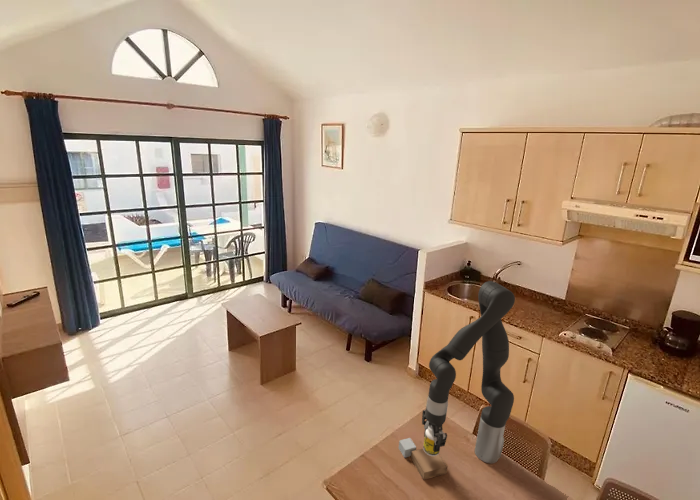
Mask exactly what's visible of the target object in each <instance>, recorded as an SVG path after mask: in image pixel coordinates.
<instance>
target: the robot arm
mask: <svg viewBox="0 0 700 500" xmlns="http://www.w3.org/2000/svg"><path fill="white" fill-rule="evenodd" d="M477 295H478V296H477V297H478V305H479V312H480V317H479V318H477V319H476V320H474V321H472V322H471V323H469V324H467V325H465V326H463V327H461V328H460V329H459V330H458V331H457V332H456V333H455V334H454V336H453V337H452V338H451V339H450V340H449V342H448V343H447V344H446V345H445V346H444V347H442V348H441V349H440V350H438V351H437V352H435V354H433V355H432V356H431V358H430V359H429V363H428V367H429V370H430V371H431V373H432V374H433V375H434V377H435V378H436V379H433V380H431V382H430V383H429V388H428V389H429V390H428V394H427V395H428V396H427V399H426V406H425V409H424V410H422V415H421V416H422V417H421V425H423V429H424V432H423V437H424V438H425V431H426V429H427V428H428V425H430V427H431V430H432V437H433V438H434V448H433V451H434V452H438V451H439V452H440V450H441V448H442V447H445V446H446V443H447V438H448V434H447V432H444V431H443V430H444V429H443V425H444V423H445V422H446V419H447V413H448V407H449V397H450V396H449V395H450V390H451V389H452V387H453V384H454V383H455V381H456V378H457V371H456V369H455V367H454V365H453V364H452V363H451V362H450V361H452V360H453V359H455V360H457V361H463V359H465V358H466V356H467V355H468V354H469V353H470V352H471V350H472V349H473V347H474V346H475V345H476V344H477V343H478V342H479V340H480V339H481V349H482V350H481V351H482V376H481V379H482V380H481V386H480V387H481V389H480V390H481V394H482V396H483V398H484V399H485V400H486V402H488V403H489V405H488V406H485V407H483V408H482V409H481V414H480V419H479V424H478V431H477V435H476V441H475V447H474V453H475V456H476V457H477V458H478V459H479V460H480V461H482V462H484V463H486V464H495V463H497V462H498V460H500V458H501V457H502V452H503V449H504V443H505V437H504V433H505V429H506V424H507V421H508V420H509V419H510V417H511V412H512V410H513V405H514V401H515V395H514V393H513V391H512V390H511V389H510V388H509V387H508V386H507V385H505V383H503V381H502V378H501V368H503V366H504V365H505V364H506V363H507V361H508V360H509V358H510V357H509V355H510V340H509V336H508V334H507V333H508V332H507V331H506V329H505V326H504V324H503V323H504V322H503V321H502V319H503V318H504V317H505V316H506V315H507V314H508V313H509V312H510V310H511V309H512V308H513V307H514V305H515V301H516V296H515V295H514V293H513V292H512V291H511V290H510V289H508V288H506V287H505V286H503V285H501V284H499V283H498V282H495V281H492V280H488V281H485V282H484V283H483V284H482V285H481V286H480V288H479V291H478V294H477ZM436 433H439V434H438V435H435V434H436ZM437 438H439V439H438V441H437Z"/></svg>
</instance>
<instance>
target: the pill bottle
mask: <svg viewBox="0 0 700 500" xmlns="http://www.w3.org/2000/svg"><path fill="white" fill-rule="evenodd" d="M424 432H425V437H424V438H423V439H424V440H423V445H422V449H424V452H425V453H426V454H427V455H429V456H437V455H438V454H440V451H438V452H434V451H433V448H434V438H433V437H432V430H431V427H430V425H428V428H427V429H426V431H425V430H424ZM438 434H439V433H436V434H435V435H438ZM438 439H439V438H437V441H438Z"/></svg>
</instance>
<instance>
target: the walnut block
mask: <svg viewBox="0 0 700 500" xmlns="http://www.w3.org/2000/svg"><path fill="white" fill-rule="evenodd" d="M410 459H411V461H412V462H413V465H414V466H415V468H416V469H417V472H418V474H419V475H420V477H421V479H422V480H429V479H432V478H435V477H438V476H439V477H441V476H443V475H446V474H448V465H447V464H446V462H445V460H444V459H443V457H442V456H441V454H440V453H439V454H438V455H437V456H429V455H427V454H426V453H425V452H424V449H423V448H421V449H419V448H418V449H416V450H415V451H412V453H411V456H410Z"/></svg>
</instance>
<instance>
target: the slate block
mask: <svg viewBox="0 0 700 500" xmlns="http://www.w3.org/2000/svg"><path fill="white" fill-rule="evenodd" d="M398 450H399V451H400V453H401V454H402V457H403V458H404V459H405V458H408V457H411V453H412V451H415V450H417V446H416V443H414V441H413V439H412V438H411V437H408V438H403V439H400V440H399V441H398Z"/></svg>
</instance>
